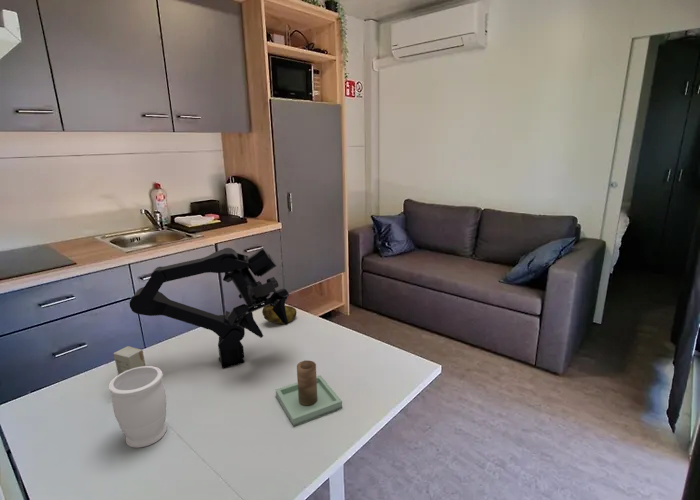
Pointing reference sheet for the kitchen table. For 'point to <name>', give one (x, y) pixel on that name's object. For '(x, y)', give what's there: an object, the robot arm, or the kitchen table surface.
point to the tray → (302, 414)
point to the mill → (307, 383)
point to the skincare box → (129, 359)
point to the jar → (140, 405)
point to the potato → (272, 317)
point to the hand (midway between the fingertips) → (275, 330)
